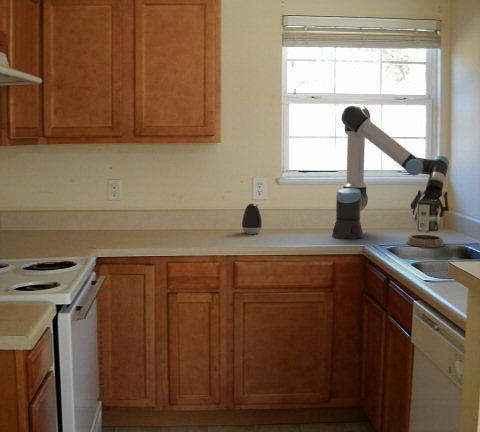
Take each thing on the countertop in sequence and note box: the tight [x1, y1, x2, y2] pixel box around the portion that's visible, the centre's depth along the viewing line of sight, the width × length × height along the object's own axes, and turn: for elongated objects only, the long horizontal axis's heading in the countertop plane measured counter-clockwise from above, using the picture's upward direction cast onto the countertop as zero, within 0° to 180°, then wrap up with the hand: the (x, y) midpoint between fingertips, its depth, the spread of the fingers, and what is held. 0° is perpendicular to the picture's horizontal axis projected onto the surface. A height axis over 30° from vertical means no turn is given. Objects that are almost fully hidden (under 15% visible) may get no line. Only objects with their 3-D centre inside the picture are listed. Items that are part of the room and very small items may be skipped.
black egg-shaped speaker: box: [241, 203, 263, 235], centre depth 337 cm, size 10×10×15 cm
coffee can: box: [415, 199, 440, 234], centre depth 309 cm, size 10×10×14 cm
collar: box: [406, 234, 445, 249], centre depth 310 cm, size 17×17×3 cm
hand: (425, 220), depth 306 cm, fingers closed on coffee can, 10 cm apart
